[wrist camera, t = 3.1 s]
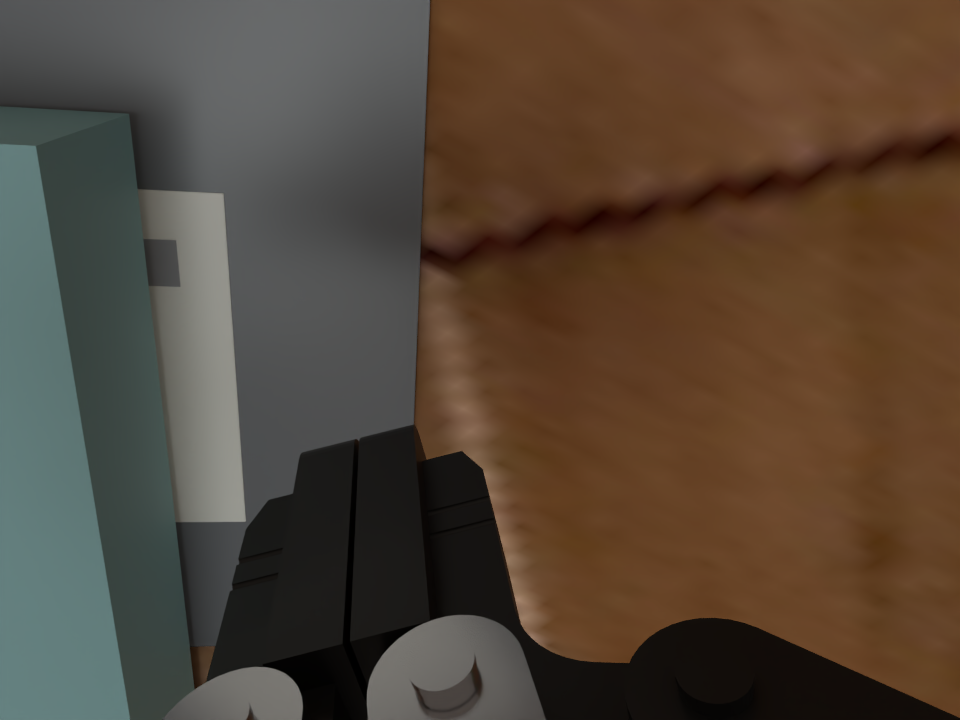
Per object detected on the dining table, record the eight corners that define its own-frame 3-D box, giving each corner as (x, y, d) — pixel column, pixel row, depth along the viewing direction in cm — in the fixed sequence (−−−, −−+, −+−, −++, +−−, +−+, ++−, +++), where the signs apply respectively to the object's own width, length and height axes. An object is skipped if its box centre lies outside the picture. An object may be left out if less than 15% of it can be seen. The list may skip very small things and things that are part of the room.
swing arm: (128, 113, 14) (36, 146, 10) (210, 827, 22) (174, 987, 18) (-168, 96, 13) (-379, 124, 10) (27, 838, 21) (-47, 1005, 18)
